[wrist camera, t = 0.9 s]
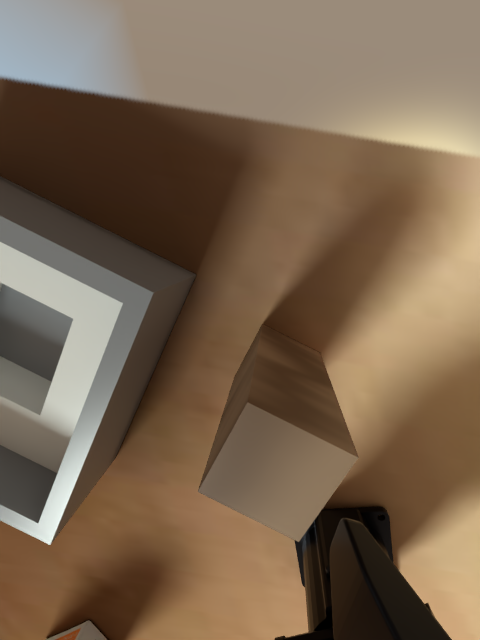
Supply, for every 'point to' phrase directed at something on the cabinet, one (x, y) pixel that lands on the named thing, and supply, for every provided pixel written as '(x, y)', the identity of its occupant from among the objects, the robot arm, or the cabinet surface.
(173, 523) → the cabinet surface
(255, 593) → the cabinet surface
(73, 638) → the skincare box
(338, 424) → the walnut peg
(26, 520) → the peg socket
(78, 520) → the cabinet surface
